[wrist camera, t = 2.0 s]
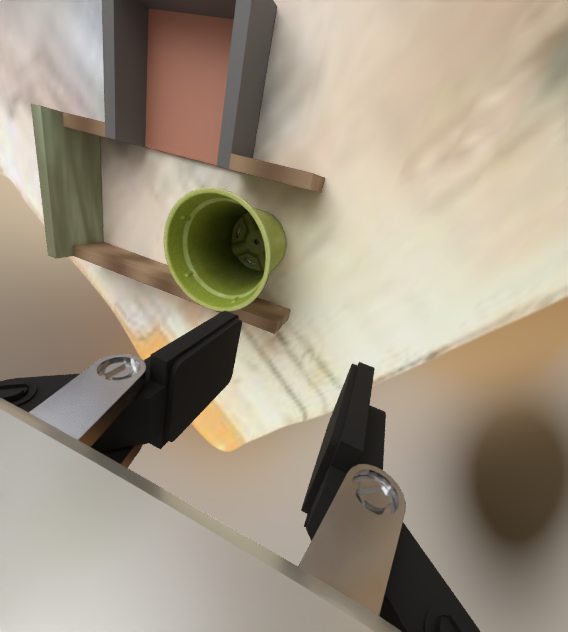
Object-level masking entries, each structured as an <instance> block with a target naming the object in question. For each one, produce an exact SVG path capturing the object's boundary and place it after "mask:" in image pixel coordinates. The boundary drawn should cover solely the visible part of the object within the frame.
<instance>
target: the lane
mask: <svg viewBox="0 0 568 632" xmlns="http://www.w3.org/2000/svg"><path fill="white" fill-rule="evenodd" d="M31 108H32V117H33V126H34V135H35V144H36V152H37V161H38V170H39V179H40V188H41V197H42V205H43V214H44V223H45V232H46V241H47V248H48V249H47V250H48V255H49V256H51V257H54V258H62V257H69V256H75V257H78V258H80V259H83V260H86V261H88V262H91V263H93V264H96V265H99V266H101V267H104V268H106V269H109V270H111V271H114V272H117V273H119V274H122V275H124V276H127V277H129V278H132V279H135V280H137V281H140V282H142V283H145V284H148V285H150V286H153V287H155V288H158V289H160V290H163V291H166V292H168V293H171V294H173V295H176V296H178V297H181V298H184V299H186V300H189V301H191V302H194V303H196V302H195V301H193V300H192V299H191V298H190V297H188V296H187V295H186V294H185V292H184V291H183V290H182V289H181V288H180V286H179V285H178V284H177V282H176V281H175V279H174V278H173V276H172V274H171V272H170V269H169V267H168V265H165V264H162V263H160V262H157V261H154V260H151V259H149V258H146V257H143V256H140V255H138V254H135V253H132V252H129V251H127V250H124V249H121V248H118V247H116V246H113V245H110V244H107V243H105V242H103V219H102V188H101V157H100V136H103V137H105V122H101V121H97V120H93V119H89V118H84V117H80V116H76V115H72V114H68V113H64V112H60V111H57V110H53V109H50V108H46V107H43V106H39V105H35V104H31ZM229 169H230V170H234V171H238V172H242V173H246V174H250V175H253V176H257V177H261V178H265V179H269V180H273V181H277V182H280V183H284V184H288V185H292V186H296V187H300V188H304V189H307V190H312V191H317V192H321V191H322V188H323V184H324V180H325V178H324V177H321V176H319V175H316V174H313V173H309V172H305V171H301V170H297V169H293V168H289V167H285V166H281V165H277V164H273V163H268V162H264V161H260V160H256V159H252V158H248V157H244V156H240V155H236V154H232V153H231V157H230V165H229ZM196 304H198V303H196ZM199 305H200V304H199ZM217 312H220V313H221V312H222V311H217ZM228 312H231V313H233V314H236V315H238V316H239V320H241V321H243V322H245V323H248V324H251V325H253V326H256V327H258V328H261V329H263V330H266V331H269V332H271V333H274V334H275V333H276V332H277V331H278V330H279V329H280V327H281V326H282V325H283V324H284V323H285V322H286V321H287V320H288V317H289V314H290V310H289V309H286V308H284V307H281V306H278V305H275V304H273V303H270V302H267V301H264V300H262V299H259V298H256V299H255V300H254V301H253V302H251V303H250V304H249V305H247V306H245V307H243V308H241V309H238V310H234V311H228Z"/></svg>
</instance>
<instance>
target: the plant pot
mask: <svg viewBox="0 0 568 632" xmlns="http://www.w3.org/2000/svg"><path fill="white" fill-rule="evenodd" d="M240 225H241V226H242V229H241V231H240V233H239V236H238V238H237V229H238V227H239V226H240ZM255 240H258V241H259V244H255V242H254V241H255ZM285 248H286V238H285V235H284V232H283V229H282V227H281V224H280V223H279V221H278V220H277V219H276V218H275V217H274V216H272V215H271V214H269V213H267V212H265V211H261V210H258V209H255V208H252V207H251V206H250V205H249V204H248V203H247V202H246V201H245V200H244V199H242V198H241V197H239V196H238V195H236V194H234V193H232V192H230V191H227V190H224V189H219V188H200V189H197V190H194V191H191V192H190V193H188V194H186V195H185V196H183V197H182V198H181V199H180V200H179V201H178V202H177V203H176V204H175V205H174V207H173V208H172V210H171V212H170V214H169V216H168V218H167V221H166V225H165V232H164V249H165V256H166V260H167V264H168V267H169V269H170V272H171V274H172V276H173V278H174V279H175V281H176V282H177V284H178V285H179V286H180V288H181V289H182V290H183V291H184V292H185V294H186V295H187V296H188V297H190V298H191V299H192V300H193V301H195V302H196V303H198V304H200V305H201V306H204V307H206V308H209V309H212V310H215V311H222V312H223V311H234V310H238V309H241V308H243V307H245V306H247V305H249V304H250V303H251V302H253V301H254V300H255V299H256V298H257V297H258V295H259V294H260V293H261V291H262V290H263V288H264V287H265V284H266V282H267V279H268V276H269V273H270V272H271V271H272V270H273V269H274V268H275V267H276V266H277V264H278V263H279V262H280V261H281V259H282V258H283V256H284V253H285ZM245 258H248V259H249V260H250V261H252V262H254V263H256V265H252V264H250V263H248V262H246V261H245Z"/></svg>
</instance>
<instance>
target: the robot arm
mask: <svg viewBox="0 0 568 632" xmlns="http://www.w3.org/2000/svg"><path fill="white" fill-rule="evenodd" d="M241 326H242V321H241V320H239V316H238V315H236V314H233V313H231V312H228V311H223V312H221V313H219V314H218V315H216V316H214V317H213V318H211V319H209V320H208V321H206V322H204V323H203V324H201V325H199V326H198V327H196V328H194V329H193V330H191V331H189V332H188V333H186V334H184V335H183V336H181V337H179V338H178V339H176V340H174V341H173V342H171V343H169V344H168V345H166V346H164V347H163V348H161V349H160V350H158V351H156V352H155V353H153V354H151V356H150V357H149V358H147V359H145V360H144V361H143V360H142V359H141V358H139V357H136V356H134V355H128V354H116V355H110V356H108V357H104V358H102V359H100V360H98V361H97V362H95V363H94V364H92V365H91V366H90V367H89V368H87V369H86V370H85V371H83V372H82V373H81V374H69V375H55V376H41V377H28V378H27V377H26V378H15V379H9V380H4V381H1V382H0V632H480V630H479V629H478V628H477V626H476V624H475V623H474V622H473V620H472V619H471V617H470V616H469V615H468V613H467V612H466V611H465V609H464V608H463V606H462V605H461V603H460V602H459V600H458V599H457V598H456V596H455V595H454V593H453V592H452V591H451V589H450V588H449V586H448V585H447V584H446V582H445V581H444V579H443V578H442V577H441V575H440V574H439V572H438V571H437V569H436V568H435V567H434V565H433V564H432V562H431V561H430V560H429V558H428V557H427V555H426V554H425V553H424V551H423V550H422V549H421V547H420V545H419V544H418V543H417V541H416V540H415V539H414V537H413V536H412V534H411V533H410V531H409V530H408V529H407V527H406V526H405V524H404V523H403V519H404V515H405V509H406V502H405V499H404V495H403V493H402V491H401V489H400V487H399V486H398V484H397V483H396V482H395V481H394V480H393V478H392V477H391V476H389V475H388V474H387V473H386V472H384V471H383V455H384V437H385V418H386V414H385V412H384V411H382V410H380V409H377V408H375V407H372V406H370V405H369V404H370V397H371V389H372V383H373V375H374V367H371V366H368V365H366V364H363V363H361V362H359V364H358V366H357V365H355V364H352V365H351V368H350V370H349V373H348V375H347V378H346V380H345V383H344V385H343V388H342V390H341V393H340V395H339V398H338V401H337V403H336V406H335V408H334V411H333V414H332V416H331V418H330V421H329V424H328V427H327V430H326V433H325V436H324V439H323V443H322V446H321V449H320V452H319V455H318V458H317V462H316V465H315V468H314V471H313V474H312V477H311V480H310V484H309V487H308V490H307V493H306V496H305V499H304V503H303V506H302V510H301V511H303V512H305V513H307V518H306V521H305V525H304V527H306V530H307V532H308V534H309V536H310V538H311V543H310V545H309V547H308V549H307V551H306V553H305V555H304V556H303V558H302V561H301V562H300V564H299V566H298V567H297V566H296V565H294V564H292V563H291V562H289V561H287V560H285V559H284V558H282V557H280V556H279V555H277V554H275V553H273V552H272V551H270V550H268V549H266V548H265V547H263V546H261V545H260V544H258V543H256V542H255V541H253V540H251V539H249V538H248V537H246V536H244V535H242V534H241V533H239V532H237V531H236V530H234V529H232V528H230V527H229V526H227V525H225V524H224V523H222V522H220V521H218V520H216V519H215V518H213V517H211V516H210V515H208V514H206V513H204V512H203V511H201V510H199V509H198V508H196V507H194V506H192V505H190V504H189V503H187V502H185V501H184V500H182V499H180V498H178V497H177V496H175V495H173V494H171V493H170V492H168V491H166V490H164V489H163V488H161V487H159V486H157V485H156V484H154V483H152V482H151V481H149V480H147V479H145V478H143V477H142V476H140V475H138V474H137V473H135V472H133V471H131V470H130V469H128V467H129V465H130V464H131V462H132V461H133V460H134V458H135V457H136V455H137V454H138V453H139V451H140V449H141V447H142V445H143V444H147V443H150V444H152V445H154V446H156V447H157V448H159V449H161V448H162V447H163V446H164V445H165V444H166V443H167V442H168V441H170V442H173V441H174V440H175V439H176V438H177V437H178V436H179V435H180V434H181V433H182V432H183V431H184V430H185V429H186V428H187V427H188V426H189V425H190V424H191V423H192V421H193V420H194V419H195V418H196V417H197V416H198V415H199V414H200V413H201V412H202V411H203V410H204V409H205V408H206V407H207V406H208V405H209V404H210V403H211V401H212V400H213V399H214V398H215V397H216V396H217V395H218V394H219V393H220V392H221V391H222V390H223V389H224V388H225V387H226V386H227V385H228V383H229V382H230V380H231V378H232V374H233V368H234V363H235V358H236V353H237V347H238V342H239V337H240V331H241Z"/></svg>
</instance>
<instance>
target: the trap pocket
mask: <svg viewBox="0 0 568 632" xmlns="http://www.w3.org/2000/svg"><path fill="white" fill-rule="evenodd" d="M276 10H277V6H276V4H275V3H274V1H273V0H102V23H103V63H104V102H105V137H107V138H110V139H114V140H118V141H123V142H127V143H131V144H135V145H140V146H144V147H148V148H152V149H156V150H159V151H163V152H167V153H171V154H175V155H179V156H183V157H187V158H190V159H194V160H198V161H202V162H206V163H210V164H214V165H217V166H219V167H222V168H226V169H229V165H230V157H231V153H232V154H236V155H240V156H244V157H248V158H252V157H253V151H254V145H255V139H256V133H257V127H258V120H259V114H260V108H261V102H262V96H263V90H264V83H265V77H266V71H267V65H268V59H269V53H270V46H271V40H272V34H273V28H274V22H275V16H276Z"/></svg>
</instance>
